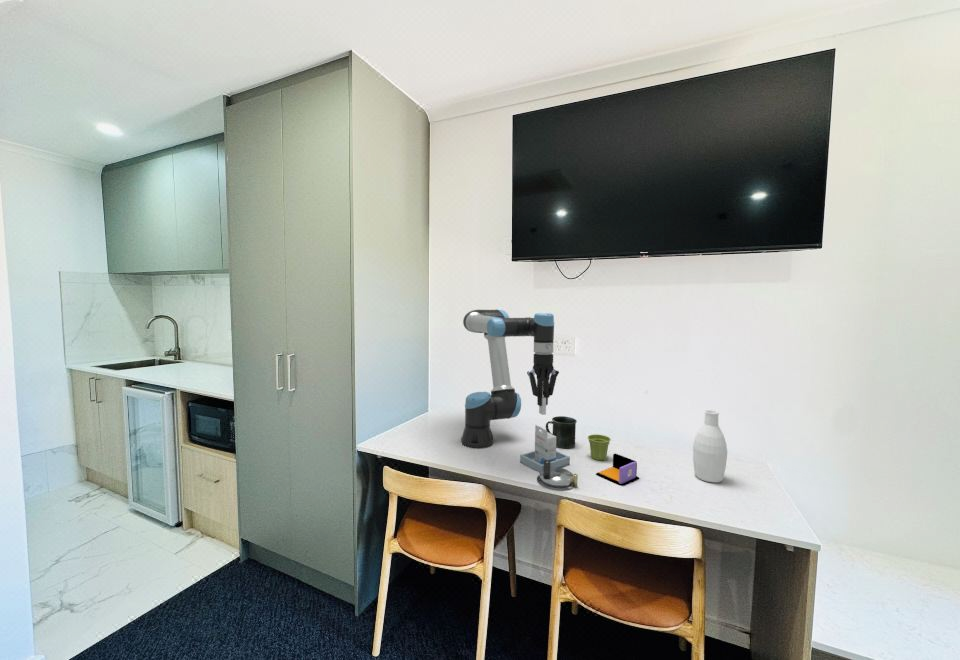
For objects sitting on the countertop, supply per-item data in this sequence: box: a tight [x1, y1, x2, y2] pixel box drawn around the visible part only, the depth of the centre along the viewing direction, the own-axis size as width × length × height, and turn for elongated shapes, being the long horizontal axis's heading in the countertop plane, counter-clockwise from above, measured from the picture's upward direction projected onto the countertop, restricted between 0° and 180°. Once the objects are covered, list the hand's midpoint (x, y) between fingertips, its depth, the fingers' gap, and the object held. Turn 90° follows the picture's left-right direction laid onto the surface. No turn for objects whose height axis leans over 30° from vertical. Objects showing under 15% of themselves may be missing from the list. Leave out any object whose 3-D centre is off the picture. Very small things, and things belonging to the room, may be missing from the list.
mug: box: [545, 415, 578, 450], centre depth 173 cm, size 11×15×12 cm
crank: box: [539, 460, 574, 488], centre depth 135 cm, size 12×12×8 cm
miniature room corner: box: [595, 453, 640, 487], centre depth 141 cm, size 12×12×7 cm
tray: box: [519, 450, 571, 474], centre depth 151 cm, size 13×16×4 cm
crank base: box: [536, 473, 579, 492], centre depth 135 cm, size 14×14×5 cm
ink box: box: [534, 424, 557, 464], centre depth 151 cm, size 9×5×15 cm, turn 26°
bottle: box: [692, 409, 728, 484], centre depth 141 cm, size 11×11×25 cm
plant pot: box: [587, 433, 612, 461], centre depth 158 cm, size 9×9×9 cm
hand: (542, 413), depth 144 cm, fingers closed
